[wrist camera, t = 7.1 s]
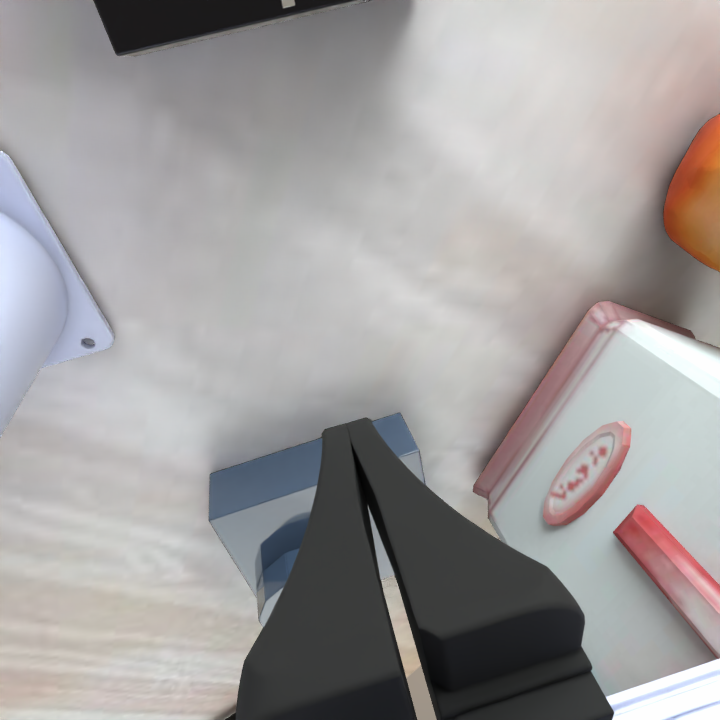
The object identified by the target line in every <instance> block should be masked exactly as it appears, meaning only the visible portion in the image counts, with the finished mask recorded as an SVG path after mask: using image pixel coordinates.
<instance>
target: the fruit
mask: <svg viewBox="0 0 720 720" xmlns="http://www.w3.org/2000/svg"><path fill="white" fill-rule="evenodd" d="M663 219H664V226H665V230H666V232H667V234H668V236H669V237H670V239H671V240H672V241H673V242H675V243H676V244H677V245H679V246H680V247H681V248H683V249H684V250H685V251H686V252H688V253H689V254H690V255H692V256H693V257H694V258H696V259H697V260H699V261H700V262H702V263H703V264H705V265H707V266H708V267H710V268H712V269H715V270H717V271H719V272H720V114H718V115H717V116H715V117H713V118H712V119H710V120H709V121H708V122H706V123H705V125H704V126H703V127H702V128H701V129H700V130H699V131H698V133H697V135H696V136H695V138H694V139H693V141H692V143H691V145H690V147H689V149H688V151H687V152H686V154H685V156H684V158H683V160H682V161H681V163H680V165H679V167H678V168H677V170H676V172H675V174H674V176H673V179H672V181H671V183H670V186H669V189H668V193H667V197H666V201H665V205H664V211H663Z"/></svg>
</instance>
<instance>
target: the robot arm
mask: <svg viewBox="0 0 720 720" xmlns="http://www.w3.org/2000/svg"><path fill="white" fill-rule="evenodd" d="M84 338H89V339H92V340H93V341H94V342H95V344H87V343H85V342H84V340H83V339H84ZM114 339H115V336H114V333H113V331H112V329H111V328H110V326H109V324H108V322H107V321H106V319H105V317H104V316H103V314H102V312H101V311H100V309H99V307H98V305H97V304H96V302H95V300H94V299H93V297H92V295H91V294H90V292H89V290H88V288H87V287H86V285H85V283H84V282H83V280H82V278H81V277H80V275H79V273H78V271H77V270H76V268H75V266H74V265H73V263H72V261H71V260H70V258H69V256H68V254H67V253H66V251H65V249H64V248H63V246H62V244H61V243H60V241H59V239H58V237H57V236H56V234H55V232H54V231H53V229H52V227H51V226H50V224H49V222H48V220H47V219H46V217H45V215H44V214H43V212H42V210H41V209H40V207H39V205H38V203H37V202H36V200H35V198H34V197H33V195H32V193H31V192H30V190H29V188H28V186H27V185H26V183H25V181H24V180H23V178H22V176H21V175H20V173H19V171H18V169H17V168H16V166H15V164H14V163H13V161H12V160H11V158H10V157H9V156H8V155H7V154H5V153H4V152H2V151H1V150H0V438H1V436H2V434H3V432H4V431H5V429H6V427H7V426H8V424H9V422H10V420H11V419H12V417H13V415H14V414H15V412H16V410H17V408H18V407H19V405H20V403H21V401H22V400H23V398H24V396H25V395H26V393H27V391H28V389H29V388H30V386H31V384H32V383H33V381H34V379H35V377H36V376H37V374H38V372H39V371H40V369H41V368H44V367H48V366H51V365H54V364H58V363H61V362H65V361H68V360H72V359H75V358H78V357H82V356H85V355H89V354H92V353H96V352H99V351H102V350H106V349H108V348H110V347H111V346H112V345H113V342H114ZM368 507H369V510H370V512H371V515H372V517H373V520H374V523H375V525H376V528H377V530H378V533H379V536H380V538H381V541H382V543H383V546H384V549H385V551H386V554H387V556H388V559H389V561H390V564H391V567H392V569H393V572H394V575H395V578H396V580H397V583H398V586H399V589H400V593H401V596H402V600H403V603H404V607H405V610H406V614H407V617H408V621H409V624H410V628H411V631H412V635H413V638H414V641H415V645H416V648H417V652H418V655H419V659H420V662H421V666H422V669H423V673H424V676H425V680H426V683H427V687H428V690H429V694H430V697H431V701H432V704H433V708H434V711H435V715H436V718H437V720H720V658H719V659H716V660H714V661H711V662H708V663H705V664H702V665H699V666H696V667H693V668H690V669H687V670H684V671H681V672H678V673H675V674H672V675H669V676H666V677H663V678H660V679H657V680H654V681H651V682H648V683H645V684H642V685H639V686H637V687H634V688H631V689H628V690H625V691H622V692H619V693H616V694H613V695H610V696H607V697H605V695H604V693H603V691H602V690H601V688H600V686H599V684H598V683H597V681H596V679H595V677H594V676H593V674H592V672H591V670H592V664H591V662H590V660H589V658H588V657H587V655H586V653H585V652H584V650H583V648H582V646H581V644H582V638H583V632H584V627H585V615H584V613H583V611H582V610H581V608H580V606H579V604H578V603H577V601H576V600H575V599H574V597H573V596H572V595H571V593H570V592H569V591H568V589H567V588H566V587H565V586H564V585H563V583H562V582H561V581H560V580H559V579H558V578H557V576H556V575H555V574H554V573H553V572H552V571H551V570H550V569H549V568H548V567H547V566H546V565H544V564H542V563H540V562H538V561H536V560H534V559H532V558H530V557H528V556H526V555H524V554H523V553H521V552H519V551H517V550H515V549H513V548H512V547H510V546H508V545H507V544H505V543H503V542H502V541H500V540H498V539H497V538H495V537H493V536H492V535H490V534H489V533H487V532H486V531H484V530H483V529H481V528H480V527H478V526H477V525H475V524H474V523H472V522H471V521H469V520H468V519H466V518H465V517H464V516H462V515H461V514H460V513H458V512H457V511H456V510H454V509H453V508H452V507H450V506H449V505H448V504H447V503H445V502H444V501H443V500H442V499H441V498H439V497H438V496H437V495H436V494H435V493H434V492H432V491H431V490H430V489H429V488H428V487H427V486H426V485H425V484H424V483H423V482H422V481H420V480H419V479H418V478H417V477H416V476H415V475H414V474H413V473H412V472H411V471H410V470H409V469H408V468H407V467H406V465H405V464H404V463H403V462H402V461H401V460H400V459H399V458H398V457H397V456H396V454H395V453H394V452H393V451H392V450H391V449H390V447H389V446H388V445H387V444H386V442H385V441H384V440H383V438H382V437H381V436H380V434H379V433H378V431H377V430H376V428H375V427H374V425H373V423H372V421H371V420H370V419H368V418H363V419H359V420H356V421H352V422H349V423H345V424H342V425H338V426H335V427H331V428H328V429H325V430H324V431H323V432H322V456H321V465H320V472H319V477H318V483H317V489H316V493H315V498H314V502H313V506H312V510H311V514H310V518H309V521H308V524H307V528H306V531H305V534H304V537H303V540H302V543H301V546H300V549H299V551H298V554H297V557H296V559H295V562H294V564H293V567H292V569H291V572H290V574H289V577H288V579H287V581H286V583H285V586H284V588H283V590H282V592H281V594H280V596H279V598H278V600H277V602H276V604H275V606H274V608H273V610H272V612H271V614H270V616H269V618H268V620H267V622H266V624H265V626H264V627H263V629H262V631H261V633H260V634H259V636H258V638H257V640H256V641H255V643H254V645H253V647H252V648H251V650H250V652H249V654H248V655H247V657H246V659H245V661H244V665H243V669H242V674H241V679H240V684H239V691H238V698H237V707H236V720H417V717H416V713H415V710H414V706H413V702H412V698H411V695H410V691H409V687H408V683H407V679H406V676H405V672H404V668H403V664H402V661H401V657H400V653H399V649H398V646H397V642H396V638H395V634H394V630H393V627H392V623H391V619H390V615H389V612H388V608H387V604H386V600H385V596H384V593H383V588H382V583H381V579H380V573H379V567H378V562H377V556H376V550H375V544H374V539H373V533H372V527H371V521H370V516H369V510H368Z"/></svg>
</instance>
